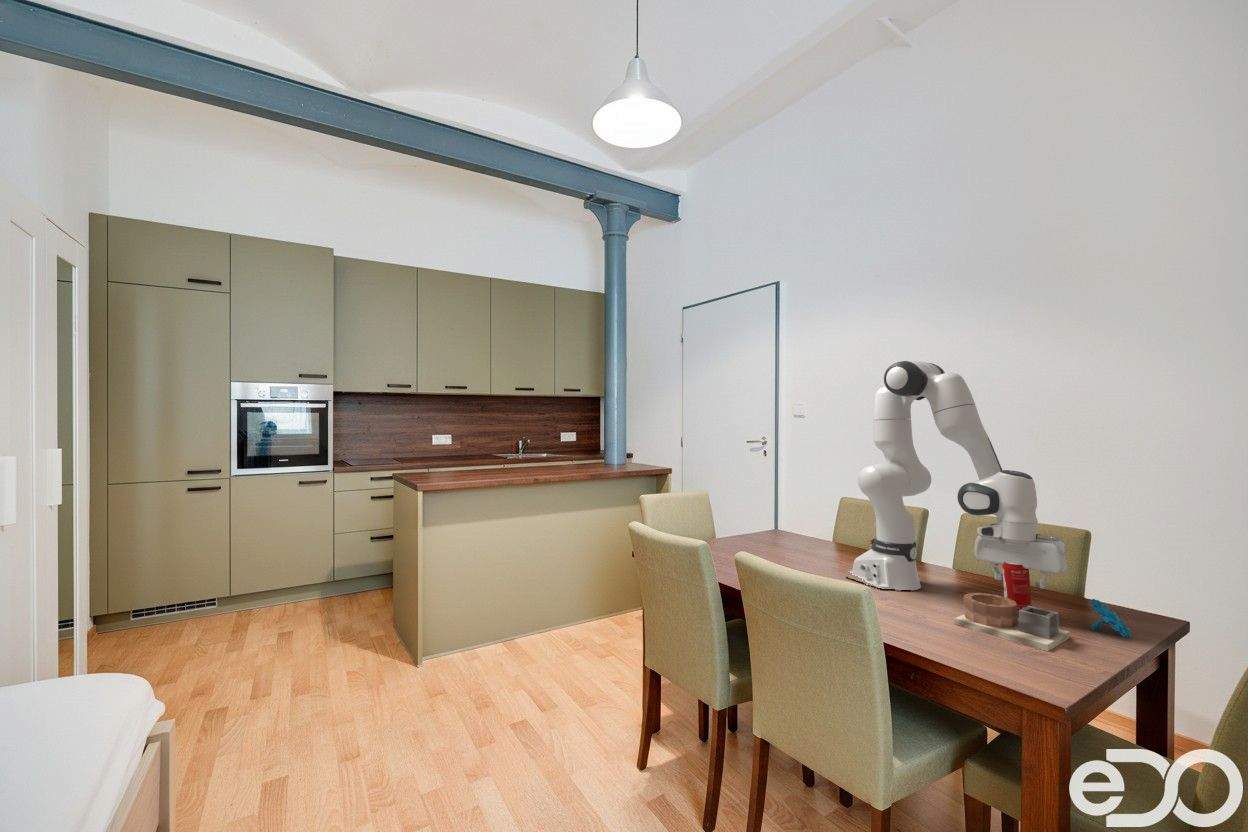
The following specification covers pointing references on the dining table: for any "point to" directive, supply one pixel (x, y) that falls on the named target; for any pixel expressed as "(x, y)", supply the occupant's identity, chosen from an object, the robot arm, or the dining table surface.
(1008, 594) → the beverage can
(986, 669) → the dining table surface
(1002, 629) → the cream base plate
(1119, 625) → the blue bumpy branched piece
